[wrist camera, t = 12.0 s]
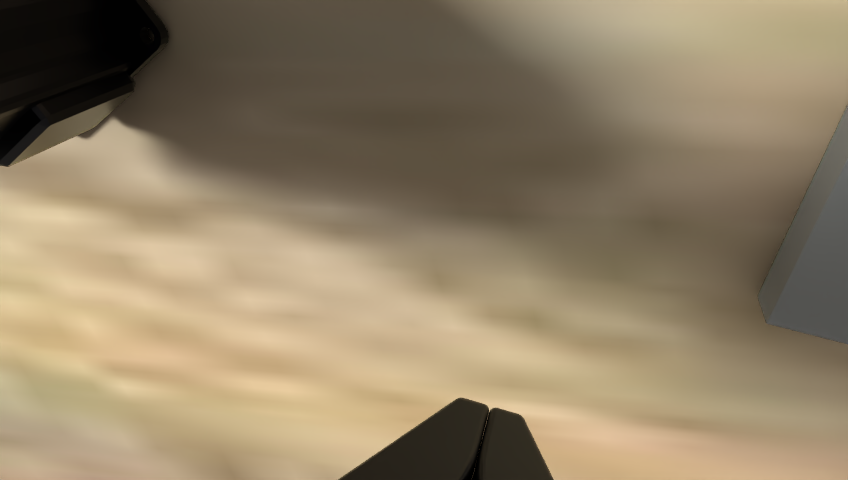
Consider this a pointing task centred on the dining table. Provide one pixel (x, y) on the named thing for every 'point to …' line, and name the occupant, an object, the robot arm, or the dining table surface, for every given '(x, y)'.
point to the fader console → (815, 254)
